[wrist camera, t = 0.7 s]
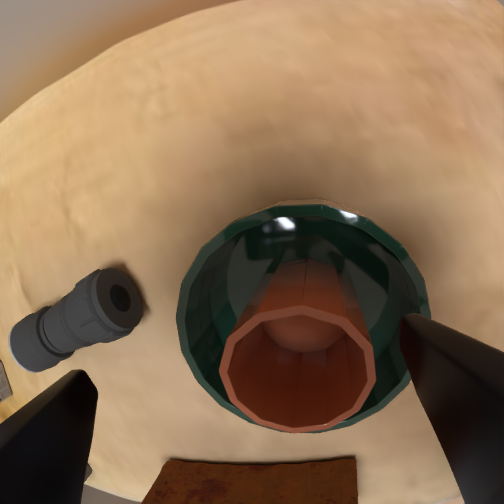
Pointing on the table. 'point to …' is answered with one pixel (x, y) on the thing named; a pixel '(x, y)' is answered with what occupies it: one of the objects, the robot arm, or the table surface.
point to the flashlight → (77, 321)
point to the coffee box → (4, 385)
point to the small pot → (300, 350)
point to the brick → (255, 483)
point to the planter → (288, 249)
